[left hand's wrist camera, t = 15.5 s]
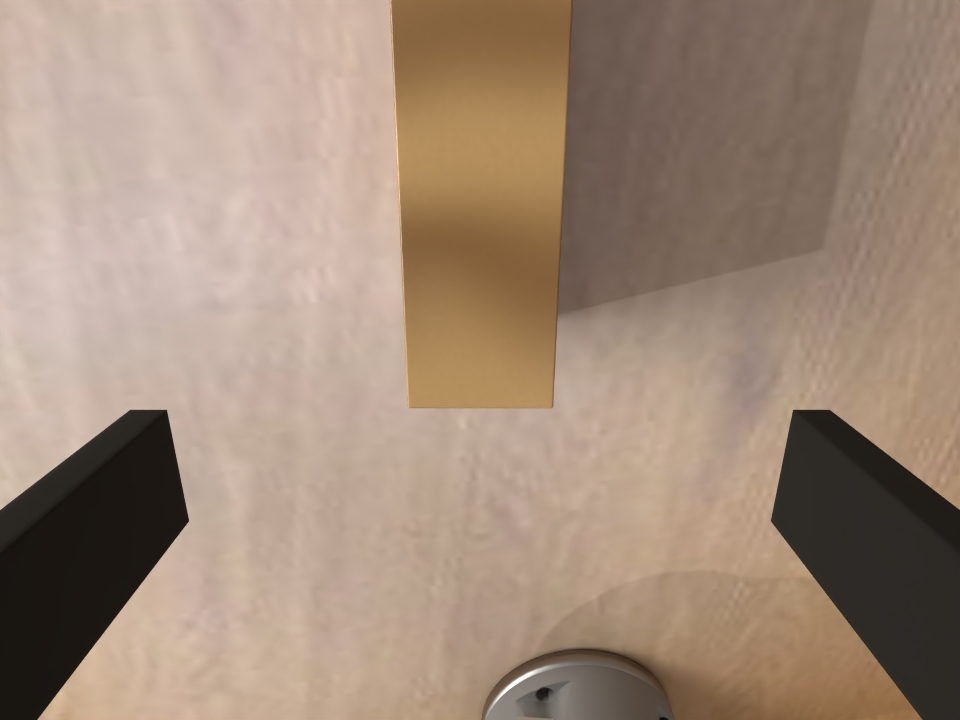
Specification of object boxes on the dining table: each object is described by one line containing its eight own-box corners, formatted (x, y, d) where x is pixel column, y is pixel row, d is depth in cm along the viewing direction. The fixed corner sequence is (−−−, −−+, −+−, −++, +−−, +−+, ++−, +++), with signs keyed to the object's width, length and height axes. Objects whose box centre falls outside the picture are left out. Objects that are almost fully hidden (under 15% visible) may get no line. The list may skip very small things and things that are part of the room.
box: (530, 322, 37) (553, 408, 25) (430, 322, 37) (407, 408, 25) (545, -172, 28) (592, -392, 17) (416, -172, 28) (371, -392, 17)
